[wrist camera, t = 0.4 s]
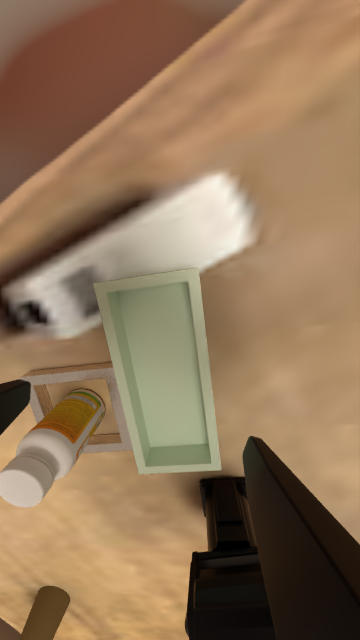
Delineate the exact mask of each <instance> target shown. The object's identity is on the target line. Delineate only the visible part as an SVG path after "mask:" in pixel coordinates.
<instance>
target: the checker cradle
mask: <svg viewBox="0 0 360 640" xmlns="http://www.w3.org/2000/svg"><path fill="white" fill-rule="evenodd" d="M20 378H21V380H25V381H29V382H30V383H31V395H30V401H29V402H30V405H31V408H32V410H33V413H34V416H35V418H36V421H37V424H38V423H39V422H40V421H41V420H42V419H43V418H44V417H45V416H46V415H47V414H48V413H49V412H50V411H51V410H52V409H53V407H52V404H51V401H50V399H49V396H48V393H47V390H46V387H45V384H52V383H62V382H72V381H82V380H92V379H103V378H106V382H107V386H108V390H109V394H110V397H111V401H112V405H113V409H114V413H115V417H116V421H117V425H118V429H119V433H120V434H106V435H92V436H91V438H90V440H89V441H88V443H87V445H86V446H85V448H84V449H83V451H82V453H95V452H111V451H128V450H133V447H132V443H131V439H130V435H129V431H128V427H127V422H126V418H125V414H124V410H123V406H122V402H121V398H120V393H119V389H118V385H117V381H116V377H115V373H114V368H113V364H112V362H110V363H100V364H91V365H81V366H72V367H63V368H53V369H44V370H34V371H30V372H28V373H27V374H25V375H23V376H22V377H20Z"/></svg>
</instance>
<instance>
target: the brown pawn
mask: <svg viewBox="0 0 360 640" xmlns="http://www.w3.org/2000/svg"><path fill="white" fill-rule="evenodd" d="M69 603H70V597H69V595H68V594H67V593H66V592H65V591H64V590H62V589H60V588H58V587H54V586H46V587H43V588H41V589H40V590H39V591H38V594H37V596H36V599H35V601H34V604H33V606H32V609H31V611H30V614H29V616H28V619H27V621H26V624H25V627H24V629H23V632H22V634H21V637H20V639H19V640H53V638H54V636H55V633H56V631H57V629H58V627H59V625H60V622H61V620H62V618H63V616H64V614H65V611H66V609H67V607H68V605H69Z"/></svg>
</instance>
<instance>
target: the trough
mask: <svg viewBox="0 0 360 640" xmlns="http://www.w3.org/2000/svg"><path fill="white" fill-rule="evenodd" d="M93 285H94V289H95V294H96V298H97V302H98V306H99V310H100V314H101V319H102V323H103V327H104V331H105V335H106V339H107V343H108V348H109V352H110V356H111V360H112V364H113V368H114V373H115V377H116V381H117V385H118V389H119V393H120V398H121V402H122V406H123V410H124V414H125V418H126V422H127V427H128V431H129V435H130V439H131V443H132V447H133V452H134V456H135V460H136V464H137V468H138V472H139V474H155V473H176V472H196V471H216V470H221V461H220V453H219V444H218V435H217V426H216V418H215V409H214V400H213V391H212V382H211V374H210V365H209V356H208V347H207V339H206V330H205V321H204V312H203V303H202V295H201V286H200V277H199V268H193V269H186V270H179V271H172V272H165V273H159V274H152V275H145V276H138V277H131V278H125V279H118V280H111V281H104V282H97V283H93Z"/></svg>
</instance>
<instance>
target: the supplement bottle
mask: <svg viewBox="0 0 360 640" xmlns="http://www.w3.org/2000/svg"><path fill="white" fill-rule="evenodd" d="M104 413H105V407H104V404H103V402H102V400H101V399H100V397H99V396H98V395H96V394H95V393H93V392H92V391H89V390H84V389H79V390H75V391H72V392H71V393H69V394H68V395H67V396H66V397H65V398H64V399H63V400H61V401H60V402H59V403H58V404H57V405H56V406H55V407H54V408H53V409H52V410H51V411H50V412H49V413H48V414H47V415H46V416H45V417H44V418H43V419H42V420H41V421H40V422H39V423H38V424H37V425H36V426H35V427H34V428H33V429H32V430H31V431H30V432H29V433H28V434H27V435H26V436H25V437H24V438H23V439H22V440H21V441H20V443H19V445H18V447H17V451H16V457H15V458H14V459H13V460H12V461H10V462H9V464H8V465H7V466H6V467H5V468H4V469H3V470H2V471H1V472H0V496H1V497H2V498H3V499H4V500H6V501H7V502H9V503H11V504H12V505H15V506H18V507H24V508H28V507H33V506H35V505H37V504H39V503H40V502H41V501H42V499H43V498H44V496H45V495H46V494H47V492H48V491H49V489H50V488H51V486H52V484H53V482H54V481H56V480H58V479H60V478H62V477H64V476H65V475H66V474H67V473H68V472H69V471H70V470H71V468H72V467H73V466H74V464H75V463H76V461H77V459H78V458H79V456H80V454H81V453H82V451H83V449H84V448H85V446H86V445H87V443H88V441H89V440H90V438H91V436H92V435H93V433H94V432H95V430H96V428H97V427H98V425H99V424H100V422H101V420H102V418H103V416H104Z"/></svg>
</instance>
